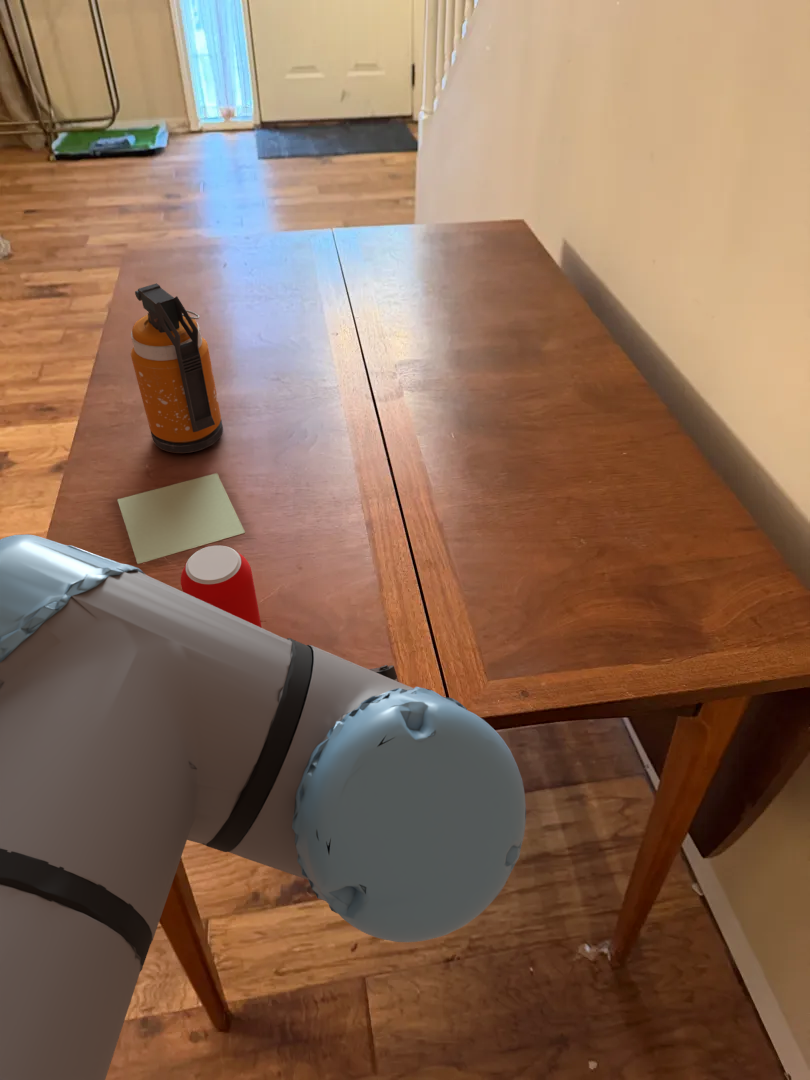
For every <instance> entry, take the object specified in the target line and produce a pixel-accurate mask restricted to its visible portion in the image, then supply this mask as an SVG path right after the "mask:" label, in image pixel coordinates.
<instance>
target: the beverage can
mask: <svg viewBox="0 0 810 1080" xmlns="http://www.w3.org/2000/svg"><path fill="white" fill-rule="evenodd" d="M253 576H254V575H253V571H252V567H251V565H250V562H249V561H248V560H247V558H246V557H245V556H244V555H242V553H240V552H238V550H236V549H235V548H233V547H231V546H228V545H225V544H224V545H223V544H214V545H208V546H204V547H202V548H200V549H198V550H196V551H195V552H194V553H191V555H190V556H189V557H188V559H187V561H186V563H185V565H184V567H183V568H182V571H181V575H180V586H181V591H182V592H184V593H186V594H189V595H191V596H193V597H195V598H197V599H200V600H202V601H204V602H206V603H208V604H210V605H213V606H215V607H217V608H219V609H221V610H223V611H226V612H228V613H230V614H232V615H234V616H237V617H239V618H241V619H243V620H245V621H247V622H250V623H252V624H254V625H256V626H258V627H260V628H263V626H262V621H261V615H260V610H259V604H258V598H257V593H256V589H255V581H254V577H253Z"/></svg>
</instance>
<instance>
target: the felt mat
mask: <svg viewBox="0 0 810 1080" xmlns="http://www.w3.org/2000/svg"><path fill="white" fill-rule="evenodd" d="M116 500H117V503H118V506H119V509H120V513H121V516H122V520H123V522H124V526H125V529H126V532H127V535H128V539H129V542H130V545H131V548H132V551H133V554H134V557H135V560H136V564H137V565H140V564H144V563H147V562H151V561H155V560H158V559H162V558H164V557H165V558H166V557H168V556H171V555H174V554H178V553H182V552H185V551H188V550H191V549H195V548H199V547H203V546H206V545H209V544H212V543H216V542H219V541H223V540H226V539H229V538H233V537H237V536H239V535H244V534H246V531H245V529H244V527H243V525H242V523H241V520H240V519H239V516H238V514H237V513H236V510H235V508H234V506H233V504H232V502H231V499H230V498H229V496H228V494H227V491H226V489H225V487H224V485H223V483H222V481H221V479H220V476H219V474H218V473H217V472H216V473H211V474H207V475H204V476H200V477H197V478H193V479H189V480H186V481H182V482H178V483H174V484H170V485H167V486H163V487H159V488H156V489H151V490H147V491H143V492H139V493H136V494H133V495H129V496H125V497H121V498H117V499H116Z"/></svg>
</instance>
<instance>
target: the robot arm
mask: <svg viewBox="0 0 810 1080" xmlns="http://www.w3.org/2000/svg"><path fill="white" fill-rule="evenodd" d="M525 793H526V792H525V787H524V781H523V778H522V775H521V772H520V770H519V767H518V763H517V762H516V759H515V757H514V755H513V753H512V751H511V749H510V748H509V746H508V745H507V743H506V741H505V740H504V738H503V737H502V736H501V735H500V734H499V733H498V732H497V731H496V729H494V727H493V726H491V725H490V724H489V723H488V722H487V721H486V720H485V719H484V718H482V717H481V716H479V715H477V714H476V713H474V712H472V711H470V710H468V708H467V707H466V706H464V705H463V704H462V703H461V702H460V701H458V700H457V699H455V698H453V697H447V696H443V695H441V694H439V693H438V692H436V691H434V690H432V689H428V688H425V687H420V686H415V687H412V686H409V685H407V684H405V683H403V682H400V681H399V678H398V674H397V671H396V669H395V665H393V664H391V665H388V664H385V665H381V666H379V667H374V668H367V667H364V666H361V665H359V664H357V663H354V662H352V661H349V660H348V659H345V658H342V657H341V656H339V655H336V654H333V653H332V652H328V651H326V650H324V649H321V648H320V647H316V646H314V645H312V644H305V643H302V642H299V641H297V640H296V639H293V638H291V637H288V638H285V637H282V636H280V635H278V634H276V633H274V632H271V631H270V630H267V629H265V628H263V627H262V628H260V627H258V626H256V625H254V624H252V623H250V622H247V621H245V620H243V619H241V618H239V617H237V616H234V615H232V614H230V613H228V612H226V611H223V610H221V609H219V608H217V607H215V606H213V605H210V604H208V603H206V602H204V601H202V600H200V599H197V598H195V597H193V596H191V595H189V594H186V593H184V592H183V591H182V590H180V589H178V588H176V587H174V586H171V585H169V584H167V583H165V582H162V581H160V580H159V579H156V578H154V577H152V576H149V575H147V573H145V572H144V571H143V570H142V569H140V568H139V567H137V566H134V565H131V564H128V563H121V562H118V561H116V560H113V559H110V558H107V557H104V556H101V555H98V554H95V553H92V552H90V551H87V550H84V549H82V548H79V547H77V546H74V545H72V544H71V545H70V544H69V545H67V544H63V543H60V542H57V541H54V540H51V539H48V538H45V537H42V536H38V535H34V534H29V533H28V534H14V535H9V536H5V537H3V538H0V1080H106V1079H107V1075H108V1074H109V1069H110V1066H111V1063H112V1060H113V1057H114V1054H115V1051H116V1047H117V1045H118V1042H119V1039H120V1035H121V1032H122V1030H123V1026H124V1024H125V1021H126V1018H127V1014H128V1012H129V1008H130V1004H131V1002H132V999H133V995H134V993H135V989H136V986H137V983H138V980H139V977H140V974H141V972H142V970H143V967H144V965H145V962H146V959H147V956H148V953H149V951H150V947H151V944H152V942H153V941H154V938H155V935H156V932H157V930H158V926H159V924H160V921H161V917H162V915H163V911H164V908H165V906H166V902H167V900H168V897H169V894H170V891H171V888H172V885H173V882H174V879H175V876H176V874H177V870H178V867H179V864H180V862H181V859H182V856H183V853H184V850H185V847H186V844H187V842H188V841H189V842H194V843H197V844H200V845H203V846H206V847H207V848H211V849H214V850H217V851H219V852H223V853H230V854H232V855H236V856H238V857H240V858H243V859H245V860H248V861H252V862H255V863H257V864H260V865H263V866H266V867H269V868H271V869H274V870H278V871H281V872H284V873H286V874H289V875H292V876H296V877H298V878H301V879H304V880H306V881H308V883H309V886H310V889H311V890H312V891H313V893H314V894H315V896H316V898H317V899H319V900H322V901H325V902H326V903H327V905H328V907H329V910H330V911H332V912H334V913H335V914H338V915H339V916H340V917H341V918H342V920H344V921H345V922H346V923H348V924H349V925H350V926H352V927H353V928H355V929H357V930H358V931H360V932H362V933H364V934H365V935H368V936H371V937H373V938H376V939H381V940H383V941H390V942H395V943H418V942H425V941H428V940H432V939H437V938H440V937H441V938H442V937H444V936H447V935H449V934H451V933H453V932H455V931H458V930H459V929H461V928H463V927H465V926H466V925H468V924H469V923H471V922H472V921H473V920H475V918H477V917H479V916H480V915H481V914H482V913H484V911H485V910H486V909H487V908H488V907H489V906H490V905H491V904H492V903H493V902H494V900H495V899H496V898H497V897H498V896H499V895H500V893H501V892H502V890H503V888H504V887H505V885H506V883H507V881H508V880H509V877H510V875H511V873H512V872H513V870H514V867H515V866H516V864H517V862H518V860H519V858H520V854H521V849H522V846H523V842H524V838H525V832H526V824H527V823H526V822H527V806H526V803H527V802H526V794H525Z"/></svg>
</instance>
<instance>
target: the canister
mask: <svg viewBox="0 0 810 1080" xmlns="http://www.w3.org/2000/svg"><path fill="white" fill-rule="evenodd" d="M134 295H135V297H136V299H137V300H138V301H139V302H140V301H141V303H142V308H143V309H144V310H145V311H147V314H146V315H143V316H142V317H140V318H139V319H138V320H136V321H135V322H134V324H133V326H132V328H131V332H130V338H131V341H132V346H133V347H131V348H132V349H131V350H130V359H131V361H132V365H133V366H132V367H133V369H134V370H133V371H134V373H135V377H136V381H137V385H138V388H139V392H140V397H141V400H142V404H143V408H144V413H145V415H146V416H145V417H146V419H147V423H148V427H149V431H150V435H151V439H152V441H153V443H154V445H155V446H156V447H158V448H159V449H161V450H163V451H166V452H170V453H174V454H175V453H176V454H186V453H193V452H194V453H195V452H198V451H201V450H204V449H207V448H208V447H211V446H212V445H214V444H216V442H218V441H219V439H220V438H221V437H222V435H223V432H224V426H223V421H222V415H221V408H220V405H219V398H218V393H217V388H216V387H217V386H216V382H215V377H214V376H215V375H214V370H213V365H212V361H211V355H210V348H209V344H208V341H207V340H206V339H205V338H204V337H203V336H202V332H201V328H200V324H199V322H198V321H197V320H199V319H200V315H199V314H198V313H196V312H194V311H192V310H189V309H186V308H185V306H184V305H183V303H182V301H181V300H180V299H179V296H173V295H172V294H170V293H168V291H166V290H164V288H162V287H161V285H160V284H158V283H153V284H149V285H146V286H143V287H142V286H141V287H139V288H137V290H135V291H134ZM190 314H191V315H190ZM192 315H194V316H192Z"/></svg>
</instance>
